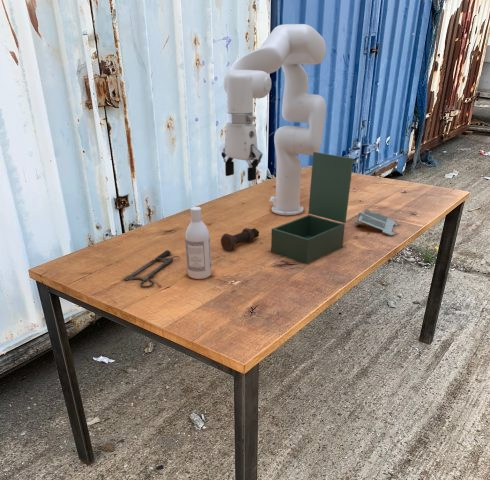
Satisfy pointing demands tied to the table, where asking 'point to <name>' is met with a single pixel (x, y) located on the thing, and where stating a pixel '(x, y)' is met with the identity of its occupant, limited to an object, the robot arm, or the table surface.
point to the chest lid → (330, 186)
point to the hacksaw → (154, 270)
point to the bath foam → (198, 246)
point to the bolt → (238, 238)
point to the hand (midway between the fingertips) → (240, 177)
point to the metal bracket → (376, 221)
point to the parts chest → (307, 238)
